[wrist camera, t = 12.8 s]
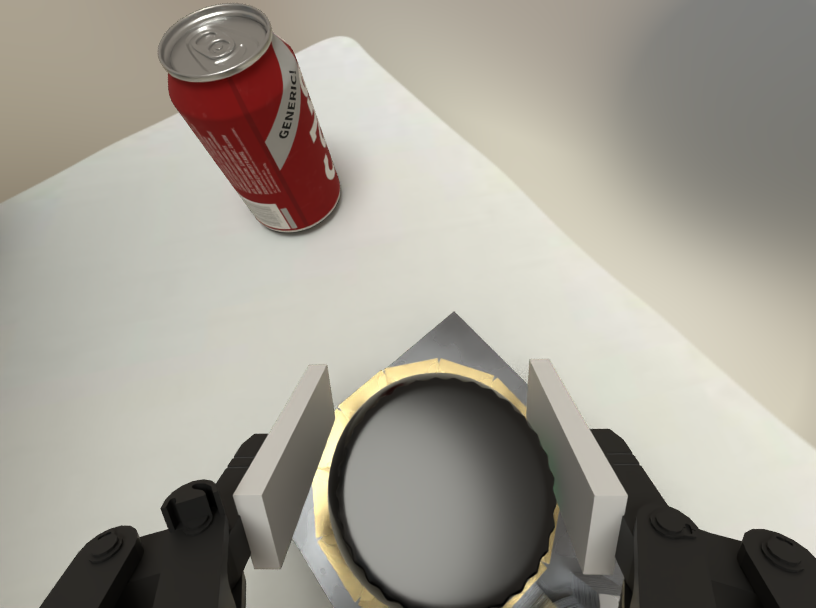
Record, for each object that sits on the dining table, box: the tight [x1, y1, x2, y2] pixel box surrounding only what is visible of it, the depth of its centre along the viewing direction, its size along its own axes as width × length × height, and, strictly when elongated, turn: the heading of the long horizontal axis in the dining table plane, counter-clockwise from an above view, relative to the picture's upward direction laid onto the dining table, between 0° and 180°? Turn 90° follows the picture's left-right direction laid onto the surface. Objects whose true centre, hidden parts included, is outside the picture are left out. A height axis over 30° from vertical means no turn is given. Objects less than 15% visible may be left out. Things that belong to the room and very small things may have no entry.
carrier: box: [292, 312, 624, 608], centre depth 17 cm, size 20×14×5 cm
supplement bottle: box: [328, 373, 557, 608], centre depth 14 cm, size 7×7×12 cm
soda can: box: [158, 3, 340, 232], centre depth 24 cm, size 7×7×12 cm
